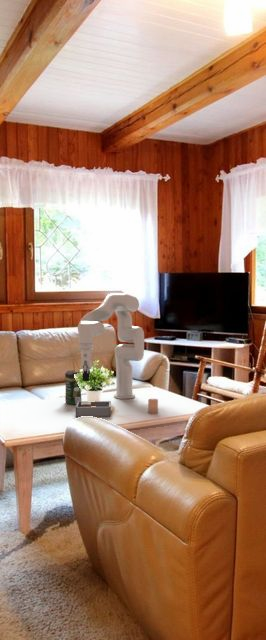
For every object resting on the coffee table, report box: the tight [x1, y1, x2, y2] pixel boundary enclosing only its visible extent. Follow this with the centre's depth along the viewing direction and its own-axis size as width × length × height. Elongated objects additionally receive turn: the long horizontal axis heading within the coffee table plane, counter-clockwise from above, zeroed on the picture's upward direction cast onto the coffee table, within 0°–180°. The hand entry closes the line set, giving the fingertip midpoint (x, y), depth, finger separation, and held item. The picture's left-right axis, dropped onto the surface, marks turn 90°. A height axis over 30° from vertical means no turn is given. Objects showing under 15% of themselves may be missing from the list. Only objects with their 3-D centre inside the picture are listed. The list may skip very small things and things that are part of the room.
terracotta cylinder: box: [147, 398, 159, 415], centre depth 280 cm, size 5×5×7 cm
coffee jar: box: [64, 369, 82, 406], centre depth 302 cm, size 10×8×19 cm
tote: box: [75, 400, 112, 418], centre depth 278 cm, size 14×18×5 cm
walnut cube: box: [81, 402, 91, 407], centre depth 278 cm, size 5×5×5 cm
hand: (86, 379), depth 277 cm, fingers open, 9 cm apart
